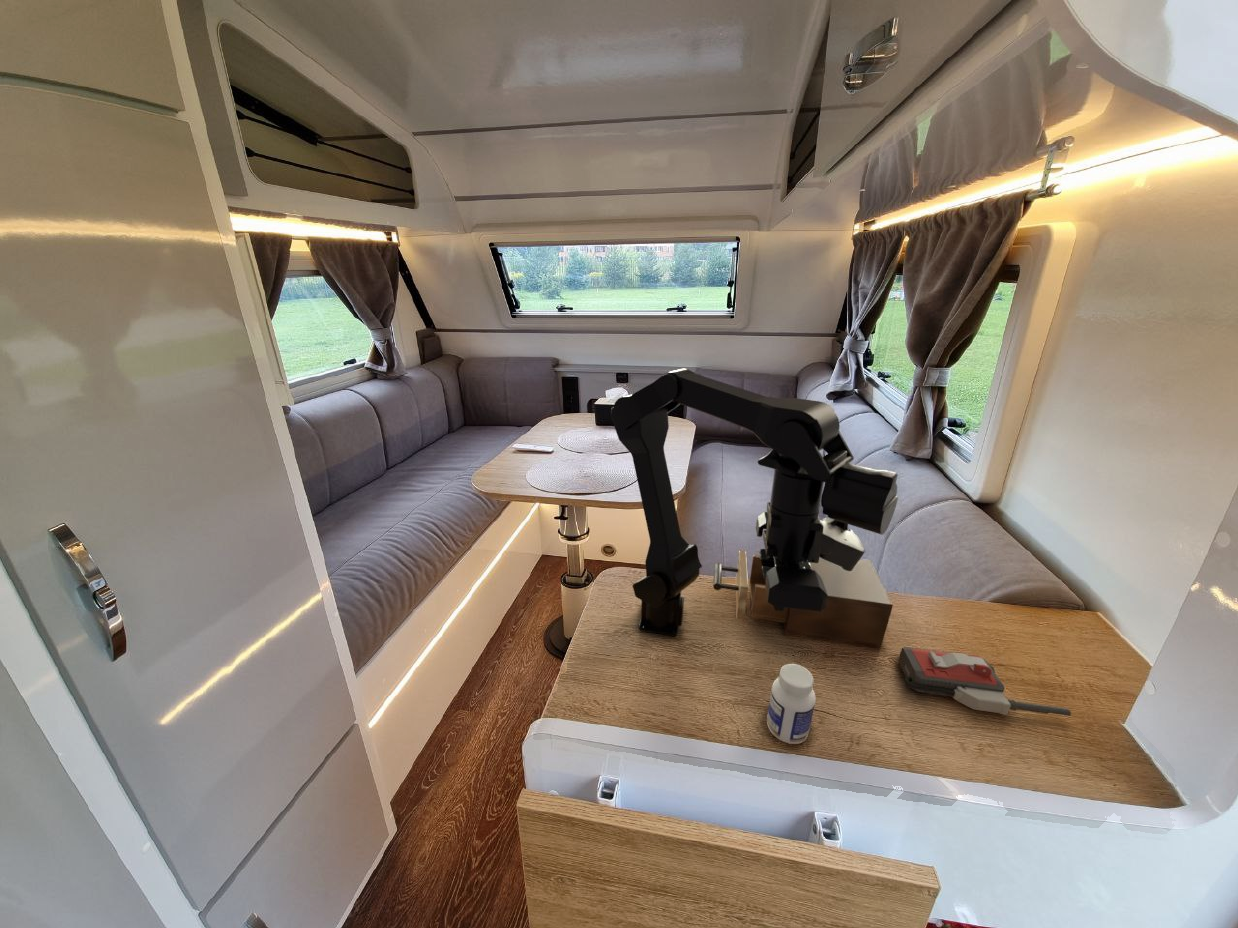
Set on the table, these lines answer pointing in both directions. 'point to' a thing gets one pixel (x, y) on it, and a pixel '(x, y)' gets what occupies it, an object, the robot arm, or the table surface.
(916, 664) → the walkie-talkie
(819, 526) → the robot arm
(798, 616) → the cabinet
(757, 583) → the drawer
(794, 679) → the pill bottle
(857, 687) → the table surface
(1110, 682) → the table surface
